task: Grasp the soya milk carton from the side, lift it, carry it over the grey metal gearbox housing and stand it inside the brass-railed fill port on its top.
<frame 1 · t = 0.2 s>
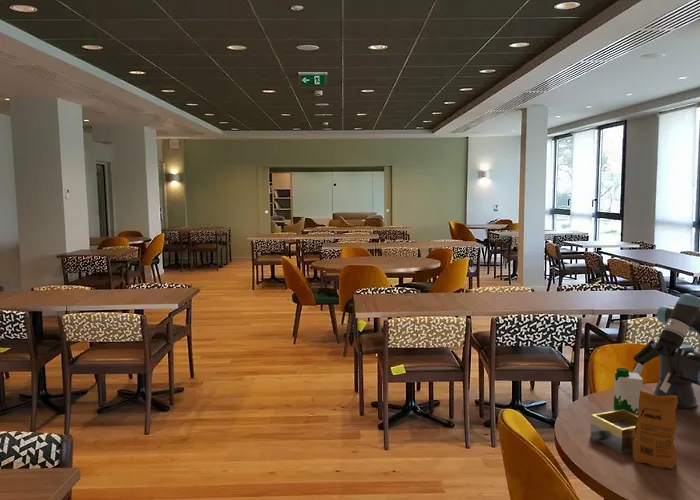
hand: (647, 385, 215), 15 cm above the table, tool tilted 35°, fingers open, 13 cm apart
coffee package: (653, 461, 188), on the table
soya milk: (627, 423, 218), on the table
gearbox: (621, 441, 202), on the table
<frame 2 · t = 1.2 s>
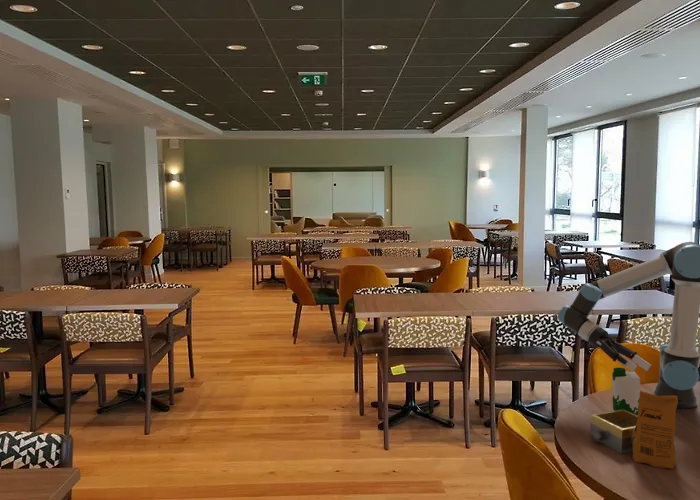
hand: (642, 368, 218), 20 cm above the table, tool tilted 65°, fingers open, 13 cm apart
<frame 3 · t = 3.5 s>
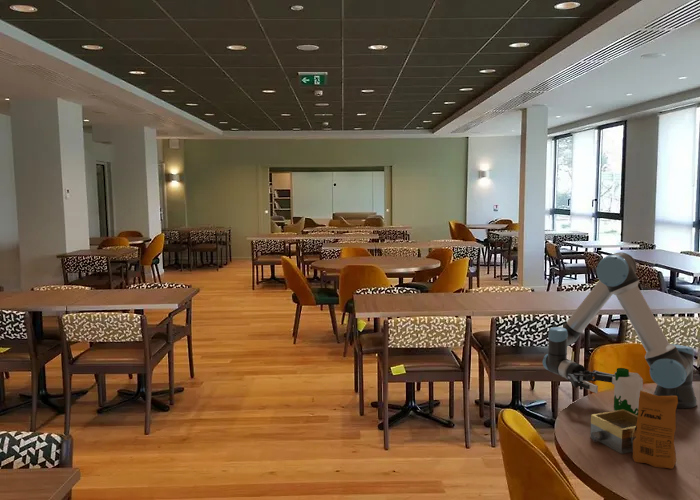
hand: (611, 387, 223), 11 cm above the table, tool horizontal, fingers open, 13 cm apart
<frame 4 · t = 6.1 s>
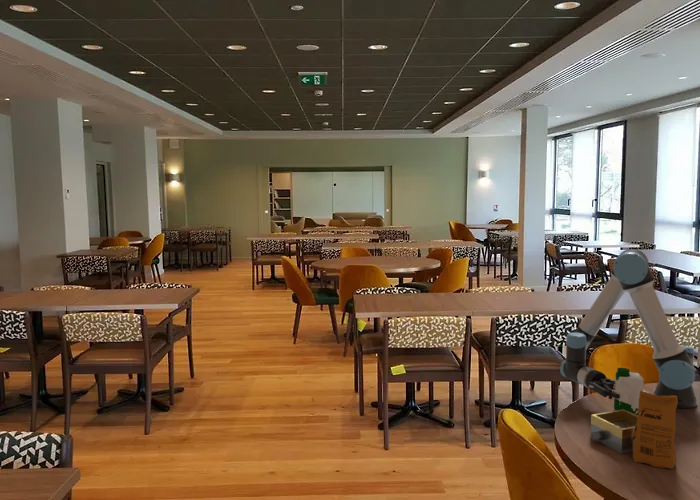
hand: (637, 397, 212), 11 cm above the table, tool horizontal, fingers closed on soya milk, 8 cm apart
soya milk: (626, 423, 218), on the table, touching gripper
everything else where it was.
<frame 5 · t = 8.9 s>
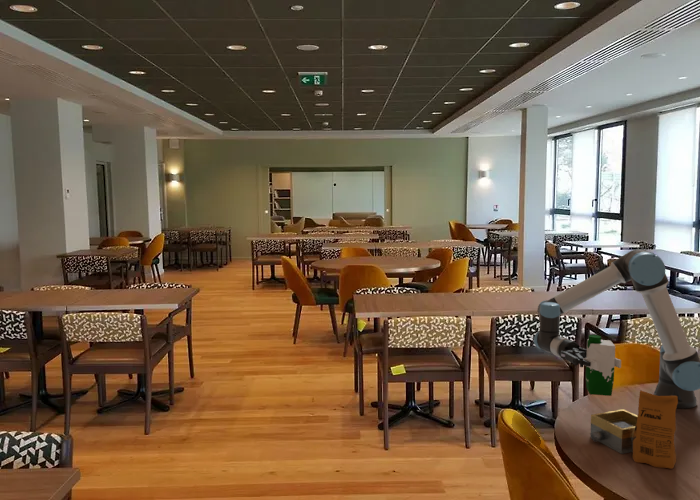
hand: (609, 365, 205), 25 cm above the table, tool horizontal, fingers closed on soya milk, 8 cm apart
soya milk: (598, 392, 210), point 14 cm above the table, touching gripper
everything else where it was.
when the fingers open (17 cm above the table, at t = 11.8 s): soya milk stays where it is, resting on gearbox.
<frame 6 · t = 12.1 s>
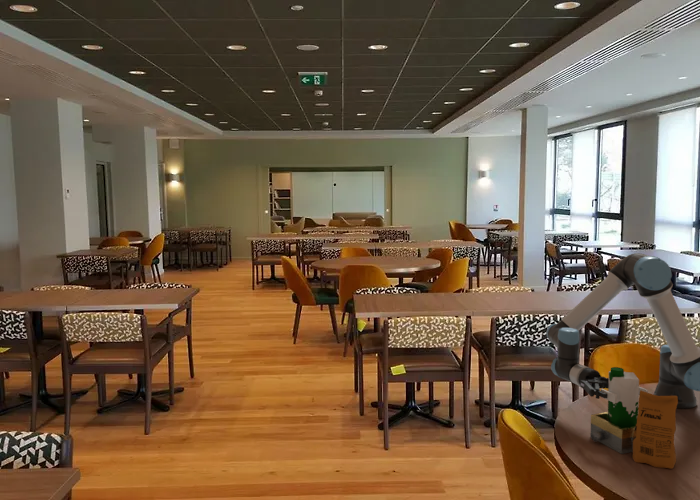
hand: (631, 396, 197), 17 cm above the table, tool horizontal, fingers open, 12 cm apart
soya milk: (622, 427, 201), point 5 cm above the table, touching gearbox
everything else where it was.
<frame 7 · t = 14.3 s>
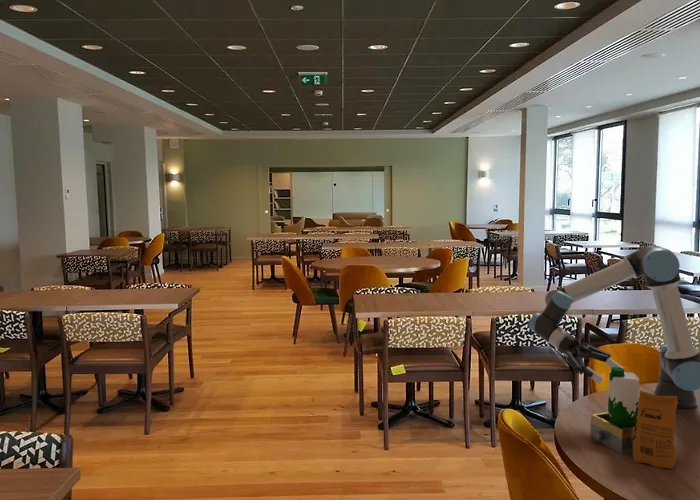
hand: (611, 376, 214), 18 cm above the table, tool tilted 65°, fingers open, 13 cm apart
nothing on the table moved.
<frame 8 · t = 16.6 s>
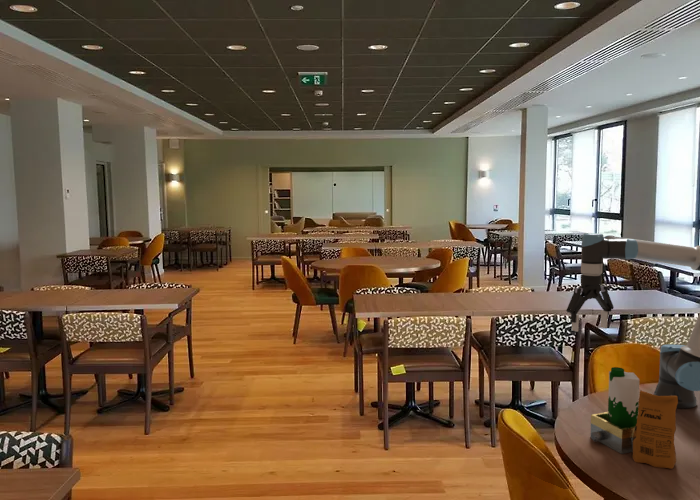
hand: (589, 329, 228), 32 cm above the table, tool pointing down, fingers open, 13 cm apart
nothing on the table moved.
at the end: soya milk inside the target area on the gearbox (0.2 cm from its centre), point 5.0 cm above the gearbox's base; soya milk tilted 0°; the gripper is holding nothing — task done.
